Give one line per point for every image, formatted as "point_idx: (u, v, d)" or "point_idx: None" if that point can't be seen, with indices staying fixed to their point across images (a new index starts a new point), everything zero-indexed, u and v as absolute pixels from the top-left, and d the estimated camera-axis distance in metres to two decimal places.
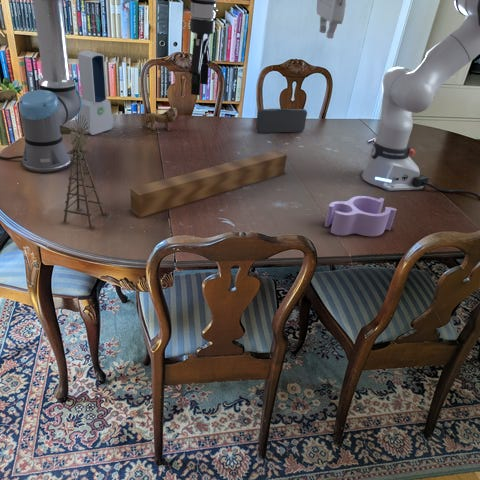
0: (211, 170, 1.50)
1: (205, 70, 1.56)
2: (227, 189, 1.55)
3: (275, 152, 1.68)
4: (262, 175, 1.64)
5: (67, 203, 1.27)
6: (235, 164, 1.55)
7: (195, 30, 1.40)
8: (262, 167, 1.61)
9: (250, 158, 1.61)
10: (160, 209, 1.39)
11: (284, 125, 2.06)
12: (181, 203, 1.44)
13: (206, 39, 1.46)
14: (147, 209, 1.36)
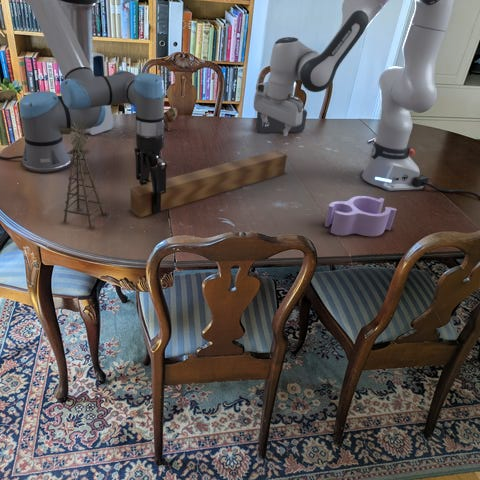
0: (211, 170, 1.50)
1: None
2: (227, 189, 1.55)
3: (275, 152, 1.68)
4: (262, 175, 1.64)
5: (67, 203, 1.27)
6: (235, 164, 1.55)
7: (152, 149, 1.26)
8: (262, 167, 1.61)
9: (250, 158, 1.61)
10: None
11: (284, 125, 2.06)
12: (181, 203, 1.44)
13: None
14: (147, 209, 1.36)
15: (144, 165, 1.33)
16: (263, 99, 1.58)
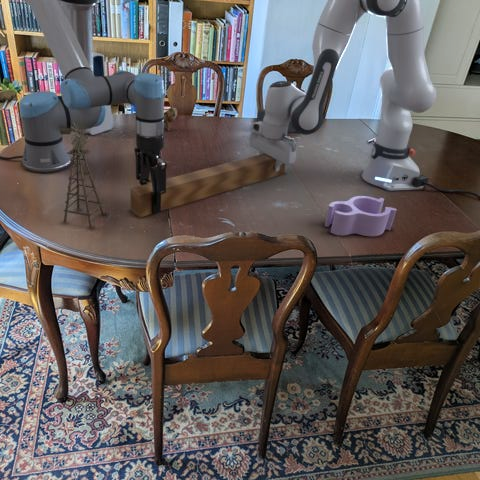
0: (211, 170, 1.50)
1: None
2: (227, 189, 1.55)
3: None
4: (262, 175, 1.64)
5: (67, 203, 1.27)
6: (235, 164, 1.55)
7: (152, 149, 1.26)
8: (262, 167, 1.61)
9: (250, 158, 1.61)
10: None
11: None
12: (181, 203, 1.44)
13: None
14: (147, 209, 1.36)
15: (144, 165, 1.33)
16: (258, 137, 1.65)
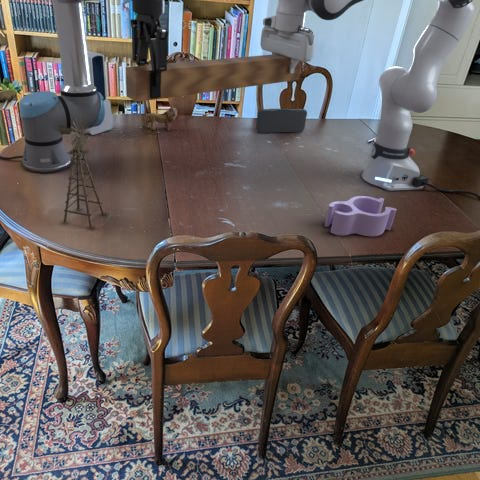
0: (219, 61, 1.32)
1: None
2: (236, 86, 1.37)
3: None
4: (275, 77, 1.46)
5: (67, 203, 1.27)
6: (245, 59, 1.37)
7: (151, 12, 1.08)
8: (275, 66, 1.43)
9: (262, 56, 1.43)
10: None
11: (284, 125, 2.06)
12: (184, 93, 1.26)
13: None
14: (145, 92, 1.18)
15: (142, 38, 1.15)
16: (271, 35, 1.47)
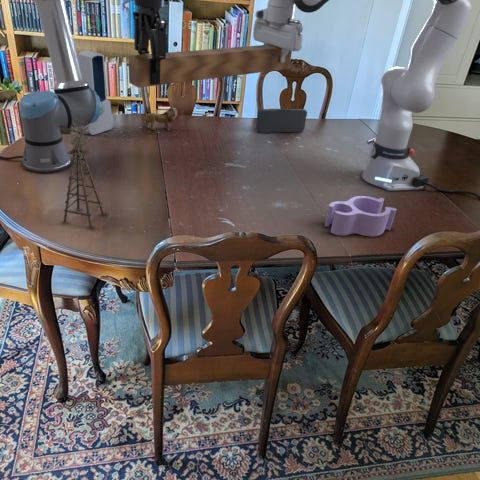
0: (214, 50, 1.43)
1: None
2: (230, 74, 1.48)
3: None
4: (267, 66, 1.57)
5: (67, 203, 1.27)
6: (238, 49, 1.49)
7: (151, 4, 1.19)
8: (267, 55, 1.54)
9: (254, 46, 1.54)
10: None
11: (284, 125, 2.06)
12: (182, 80, 1.37)
13: None
14: (146, 79, 1.29)
15: (143, 29, 1.26)
16: (263, 27, 1.58)
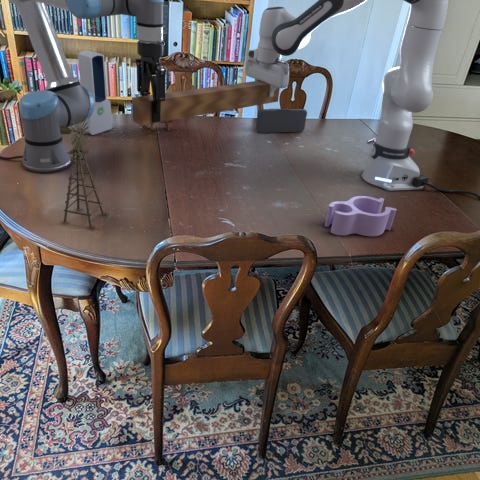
0: (208, 89, 1.59)
1: None
2: (223, 109, 1.64)
3: None
4: (257, 100, 1.73)
5: (67, 203, 1.27)
6: (231, 86, 1.65)
7: (152, 55, 1.35)
8: (257, 91, 1.70)
9: (245, 83, 1.70)
10: (160, 120, 1.49)
11: (284, 125, 2.06)
12: (180, 117, 1.53)
13: None
14: (148, 118, 1.45)
15: (145, 74, 1.42)
16: (254, 64, 1.74)
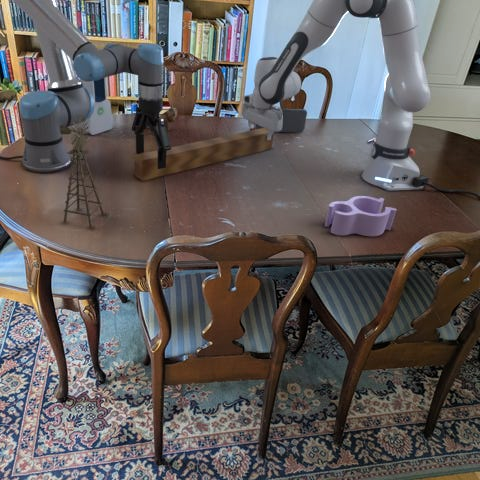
0: (206, 142, 1.70)
1: (141, 140, 1.59)
2: (220, 160, 1.74)
3: (263, 129, 1.87)
4: (252, 149, 1.83)
5: (67, 203, 1.27)
6: (227, 138, 1.75)
7: (152, 110, 1.44)
8: (251, 141, 1.81)
9: (240, 133, 1.81)
10: (160, 174, 1.59)
11: (284, 125, 2.06)
12: (179, 170, 1.64)
13: None
14: (149, 173, 1.56)
15: (143, 123, 1.52)
16: (249, 108, 1.84)
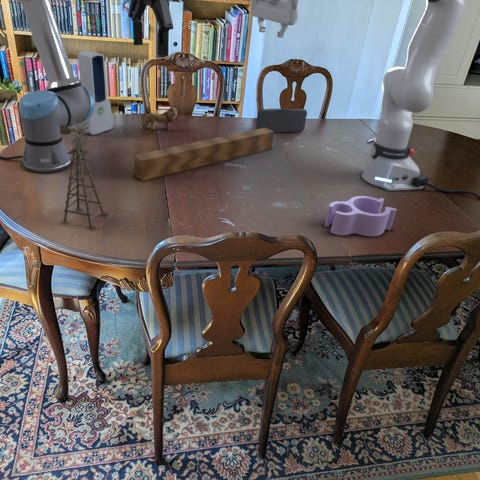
0: (206, 142, 1.70)
1: (140, 28, 1.40)
2: (220, 160, 1.74)
3: (263, 129, 1.87)
4: (252, 149, 1.83)
5: (67, 203, 1.27)
6: (227, 138, 1.75)
7: None
8: (251, 141, 1.81)
9: (240, 133, 1.81)
10: (160, 174, 1.59)
11: (284, 125, 2.06)
12: (179, 170, 1.64)
13: None
14: (149, 173, 1.56)
15: (140, 3, 1.33)
16: (260, 2, 1.63)
